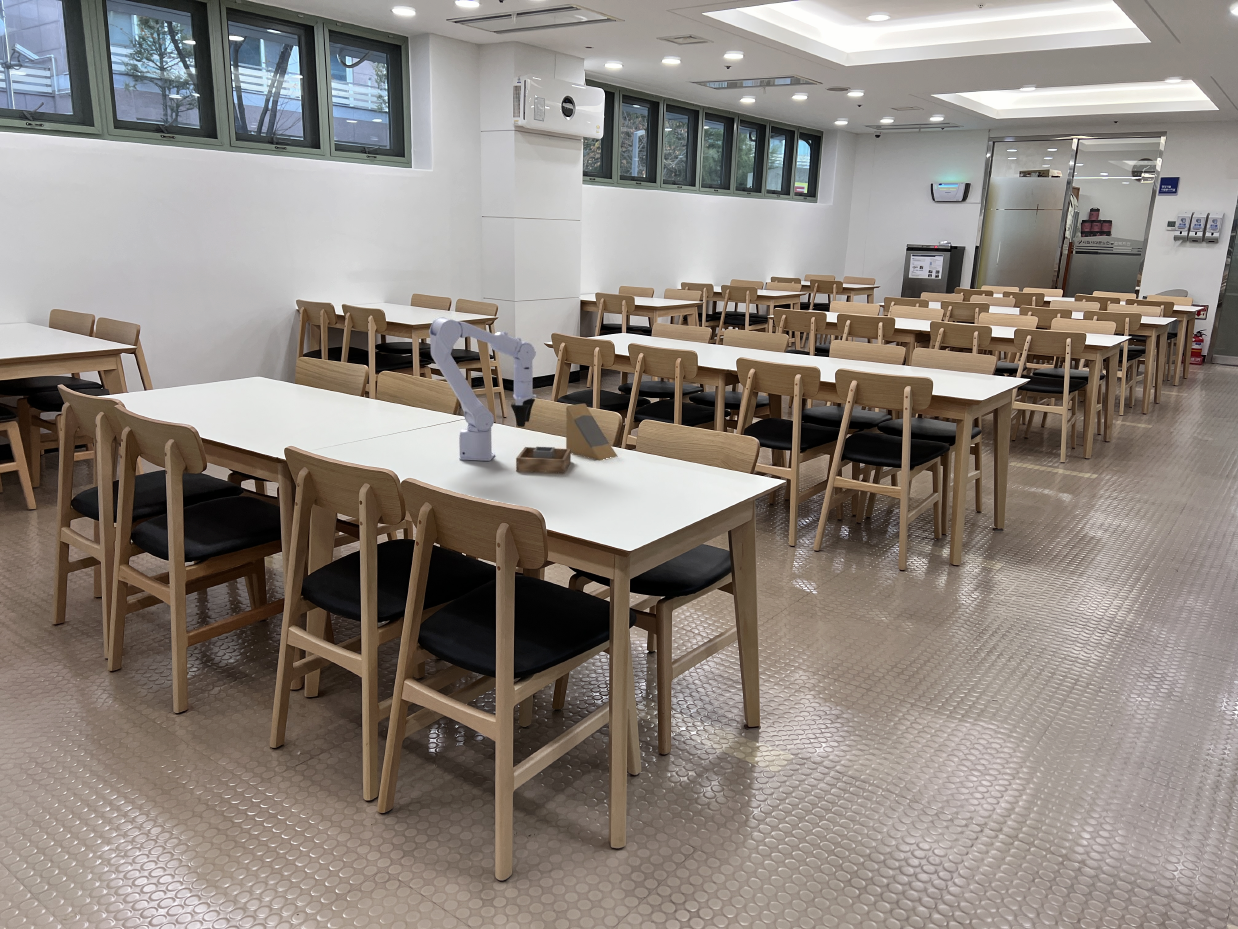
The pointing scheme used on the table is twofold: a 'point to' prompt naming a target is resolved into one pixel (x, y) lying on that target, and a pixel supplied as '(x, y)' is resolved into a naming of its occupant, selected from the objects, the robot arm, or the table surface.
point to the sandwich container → (585, 434)
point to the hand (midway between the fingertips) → (523, 424)
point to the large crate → (543, 461)
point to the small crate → (544, 452)
